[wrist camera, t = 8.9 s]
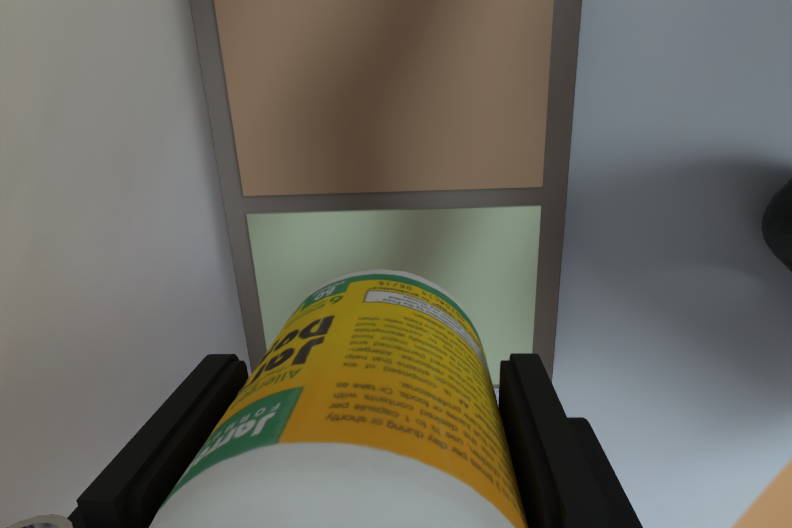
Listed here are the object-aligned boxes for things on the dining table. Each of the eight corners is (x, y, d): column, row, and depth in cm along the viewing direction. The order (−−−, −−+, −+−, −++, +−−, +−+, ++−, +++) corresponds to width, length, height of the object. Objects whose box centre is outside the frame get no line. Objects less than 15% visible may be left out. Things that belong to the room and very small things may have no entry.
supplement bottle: (417, 468, 13) (396, 1256, 4) (252, 383, 13) (-189, 1079, 4) (526, 327, 12) (889, 1128, 2) (342, 221, 11) (-67, 757, 2)
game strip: (601, -415, 10) (623, -478, 9) (544, 373, 17) (552, 391, 16) (148, -355, 11) (118, -406, 10) (263, 372, 18) (252, 390, 17)
